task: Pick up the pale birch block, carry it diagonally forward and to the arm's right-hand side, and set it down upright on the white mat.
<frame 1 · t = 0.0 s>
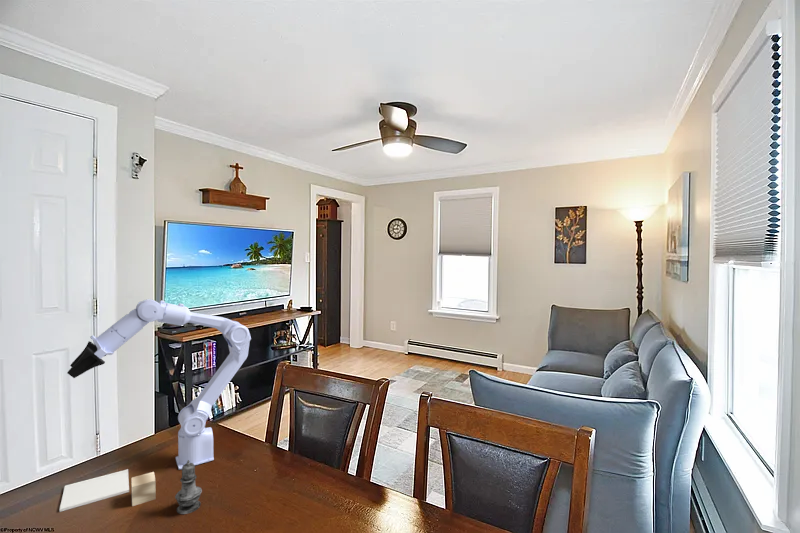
hand: (72, 371, 103), 32 cm above the table, tool tilted 50°, fingers open, 7 cm apart
white mat: (96, 489, 105), on the table
birch block: (143, 497, 102), on the table
grey stone chess piece: (188, 507, 98), on the table
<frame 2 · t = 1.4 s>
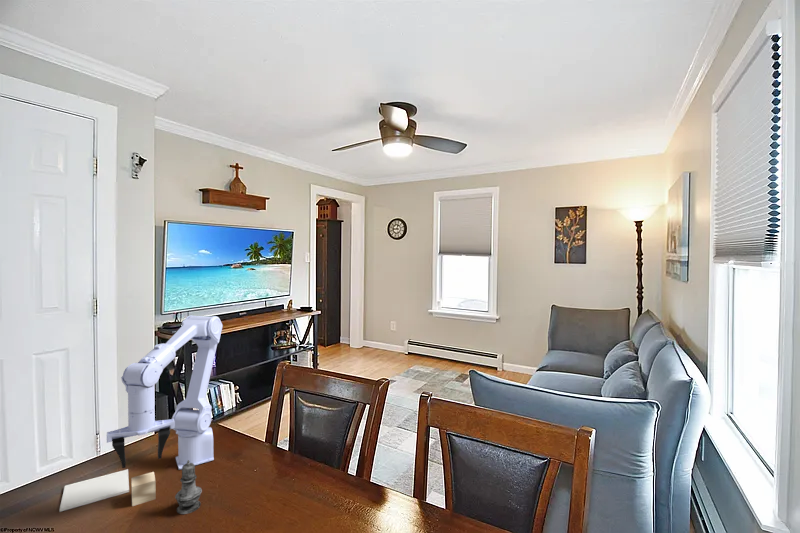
hand: (142, 461, 101), 10 cm above the table, tool pointing down, fingers open, 7 cm apart
nothing on the table moved.
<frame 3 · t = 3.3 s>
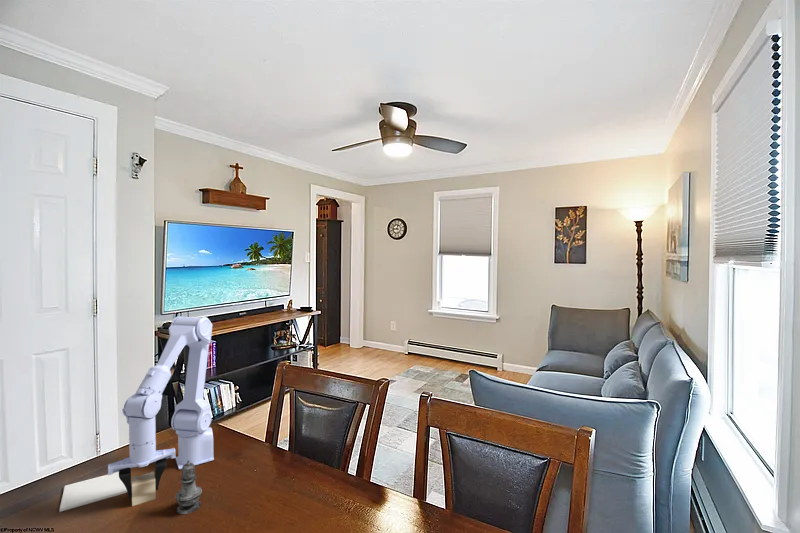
hand: (143, 492, 102), 1 cm above the table, tool pointing down, fingers closed on birch block, 5 cm apart
birch block: (143, 497, 102), on the table, touching gripper
everything else where it was.
when the fingers open (3 cm above the table, at t = 7.3 s): birch block drops 1 cm, resting on white mat.
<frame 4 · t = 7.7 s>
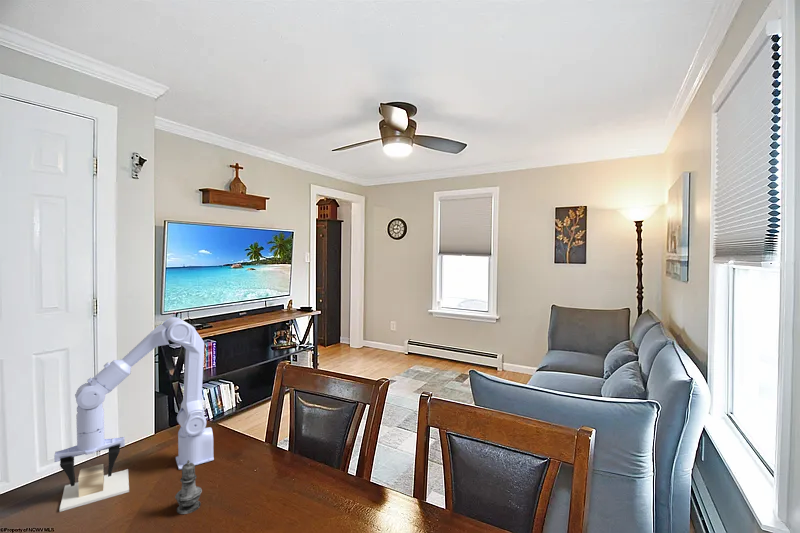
hand: (91, 479, 104), 3 cm above the table, tool pointing down, fingers open, 7 cm apart
birch block: (91, 489, 104), point 1 cm above the table, touching white mat
everything else where it was.
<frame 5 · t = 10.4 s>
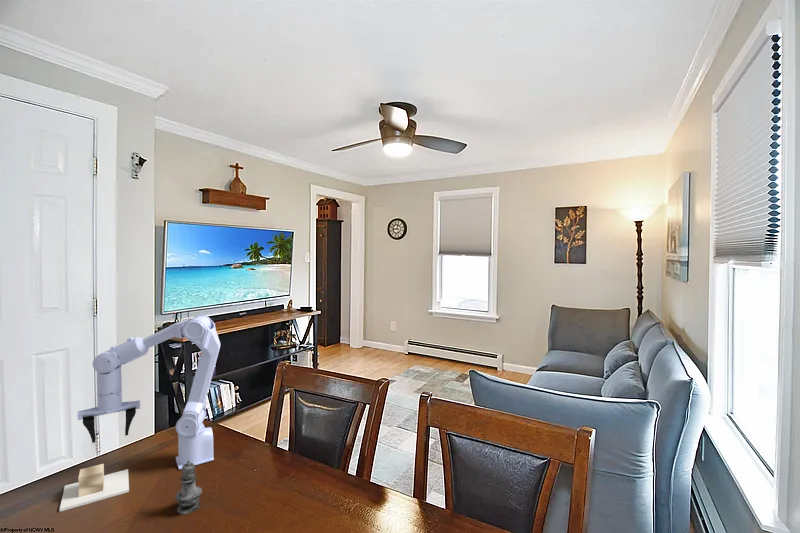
hand: (110, 437, 114), 9 cm above the table, tool pointing down, fingers open, 7 cm apart
nothing on the table moved.
at the end: birch block inside the target area on the white mat (1.0 cm from its centre), point 0.6 cm above the white mat's base; birch block tilted 0°; the gripper is holding nothing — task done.
